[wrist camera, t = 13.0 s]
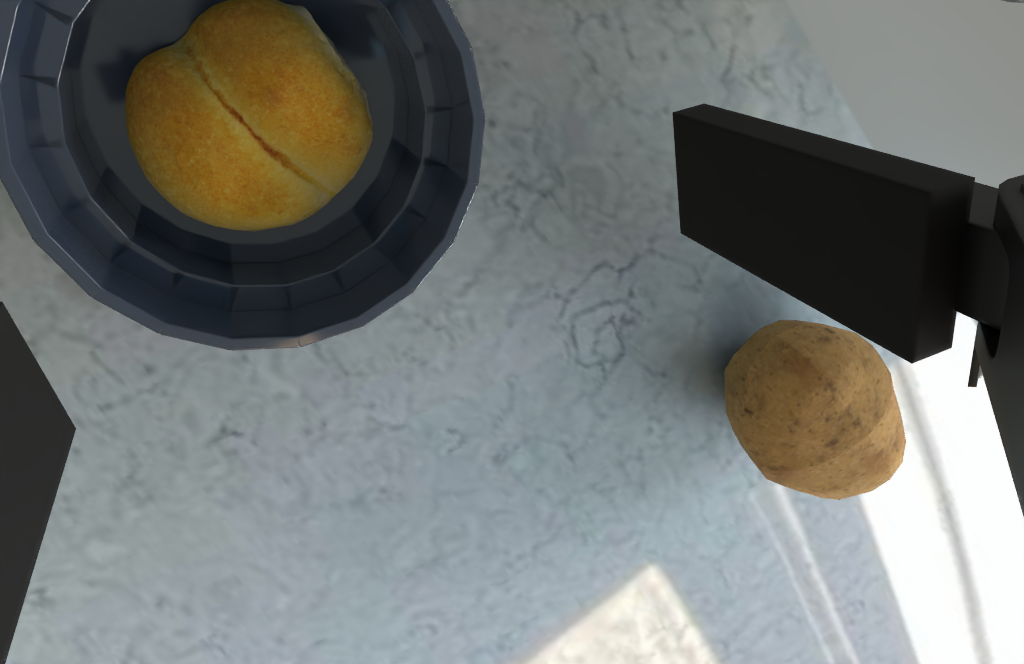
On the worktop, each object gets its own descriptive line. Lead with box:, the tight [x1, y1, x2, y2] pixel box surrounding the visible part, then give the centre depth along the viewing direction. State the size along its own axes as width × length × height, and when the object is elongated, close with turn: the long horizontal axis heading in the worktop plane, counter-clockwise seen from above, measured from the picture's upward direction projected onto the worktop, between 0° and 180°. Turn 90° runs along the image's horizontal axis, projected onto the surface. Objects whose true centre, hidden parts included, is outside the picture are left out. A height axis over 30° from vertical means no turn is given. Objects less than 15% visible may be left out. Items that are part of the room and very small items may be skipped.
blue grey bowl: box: [0, 0, 485, 350], centre depth 28 cm, size 16×16×6 cm
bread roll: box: [125, 0, 373, 231], centre depth 29 cm, size 8×9×4 cm
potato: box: [725, 320, 906, 500], centre depth 44 cm, size 10×14×8 cm
